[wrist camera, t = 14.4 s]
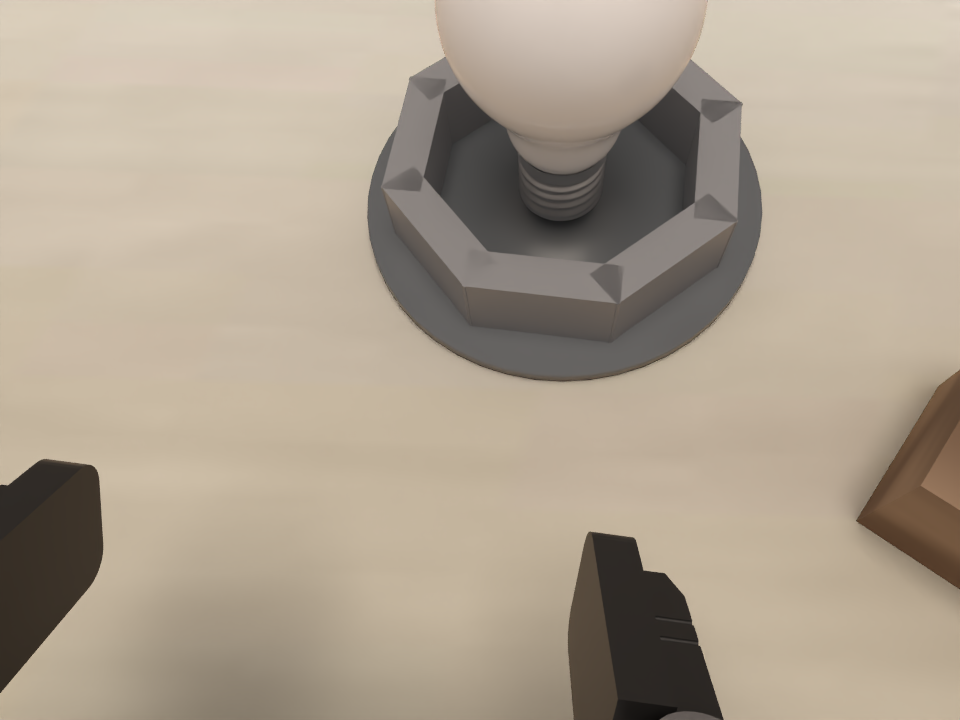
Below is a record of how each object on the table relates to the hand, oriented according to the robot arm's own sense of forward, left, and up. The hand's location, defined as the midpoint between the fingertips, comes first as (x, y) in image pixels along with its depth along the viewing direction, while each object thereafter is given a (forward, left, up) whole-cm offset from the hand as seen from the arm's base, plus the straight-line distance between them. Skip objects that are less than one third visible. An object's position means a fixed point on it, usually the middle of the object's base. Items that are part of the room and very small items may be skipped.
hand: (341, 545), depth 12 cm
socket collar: (+11, +8, -9) cm, 16 cm away
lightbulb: (+11, +8, -9) cm, 16 cm away
